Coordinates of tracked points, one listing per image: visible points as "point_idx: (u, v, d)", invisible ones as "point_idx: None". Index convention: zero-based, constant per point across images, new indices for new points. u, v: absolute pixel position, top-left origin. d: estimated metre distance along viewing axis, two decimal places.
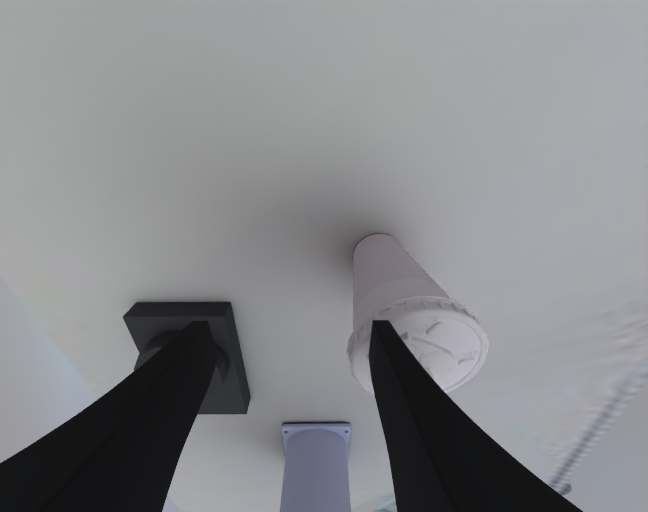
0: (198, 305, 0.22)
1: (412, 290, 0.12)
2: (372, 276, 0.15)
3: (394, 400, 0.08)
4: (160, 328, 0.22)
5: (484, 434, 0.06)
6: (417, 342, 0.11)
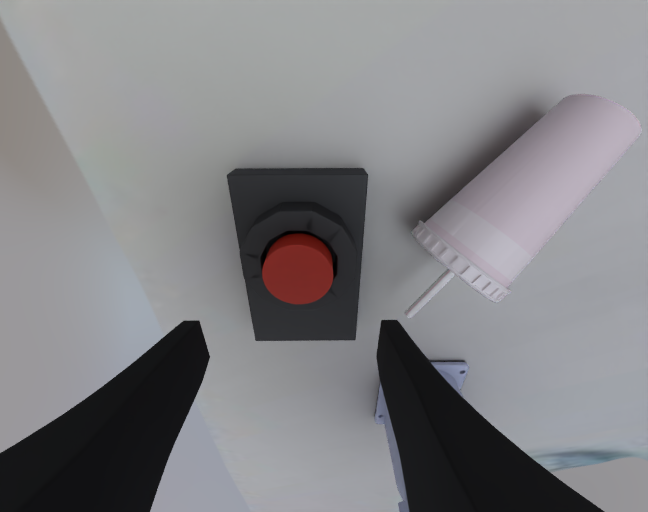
0: (323, 169, 0.16)
1: (473, 241, 0.13)
2: (484, 188, 0.14)
3: (406, 400, 0.08)
4: (275, 196, 0.16)
5: (500, 434, 0.06)
6: None
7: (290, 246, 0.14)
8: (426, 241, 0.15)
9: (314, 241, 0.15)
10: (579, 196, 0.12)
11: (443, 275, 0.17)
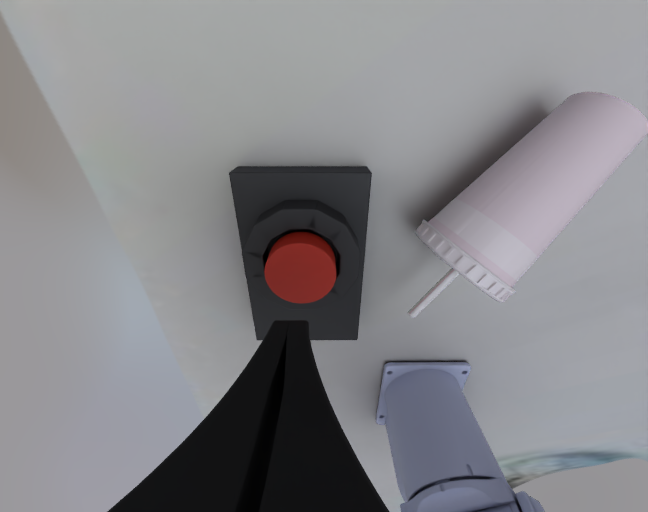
0: (326, 167, 0.16)
1: (479, 240, 0.13)
2: (490, 187, 0.13)
3: None
4: (278, 194, 0.16)
5: (339, 435, 0.06)
6: (449, 263, 0.15)
7: (292, 245, 0.14)
8: (430, 240, 0.14)
9: (317, 239, 0.15)
10: (586, 195, 0.12)
11: (447, 274, 0.17)
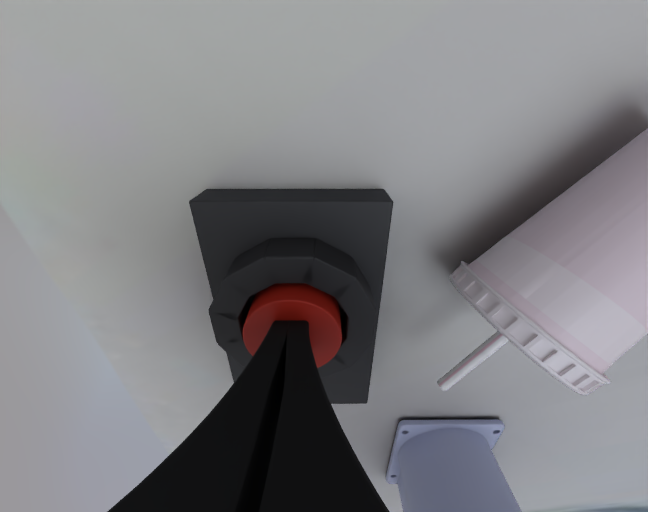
0: (327, 191, 0.12)
1: (562, 311, 0.09)
2: (575, 228, 0.09)
3: None
4: (260, 231, 0.11)
5: (339, 435, 0.06)
6: None
7: (280, 302, 0.10)
8: (481, 302, 0.10)
9: (316, 289, 0.11)
10: None
11: (494, 338, 0.12)
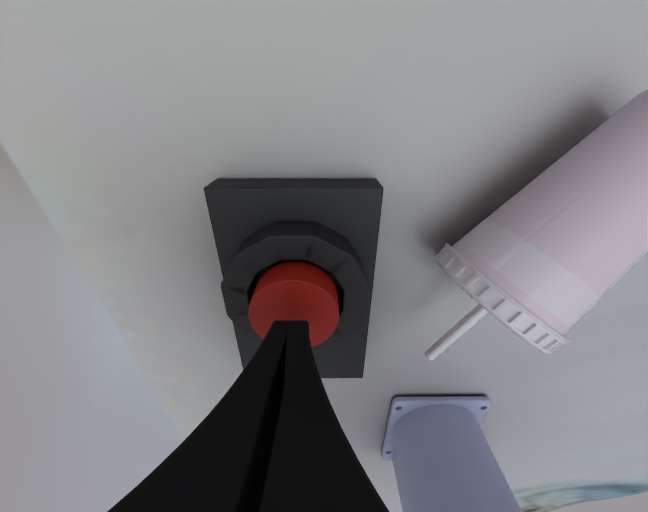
0: (326, 180, 0.13)
1: (526, 279, 0.10)
2: (538, 209, 0.10)
3: None
4: (266, 214, 0.12)
5: (338, 435, 0.06)
6: None
7: (283, 282, 0.11)
8: (459, 275, 0.11)
9: (315, 272, 0.12)
10: None
11: (474, 311, 0.14)
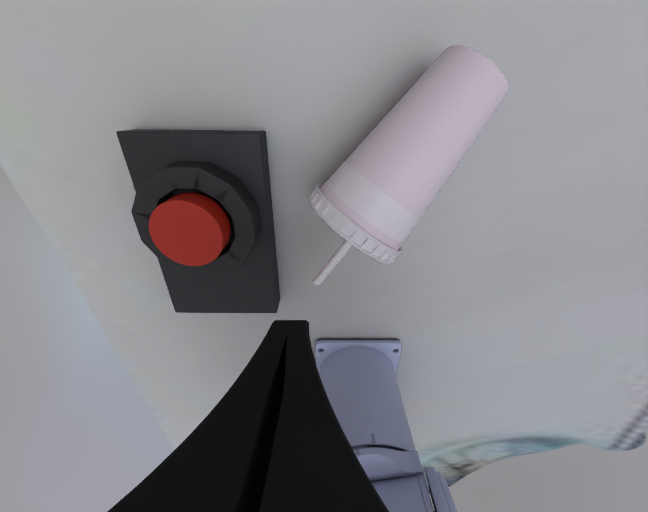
0: (221, 130, 0.16)
1: (351, 196, 0.13)
2: (365, 145, 0.13)
3: None
4: (170, 156, 0.15)
5: (338, 435, 0.06)
6: None
7: (171, 202, 0.14)
8: (314, 200, 0.14)
9: (204, 199, 0.15)
10: (450, 149, 0.12)
11: (345, 240, 0.17)
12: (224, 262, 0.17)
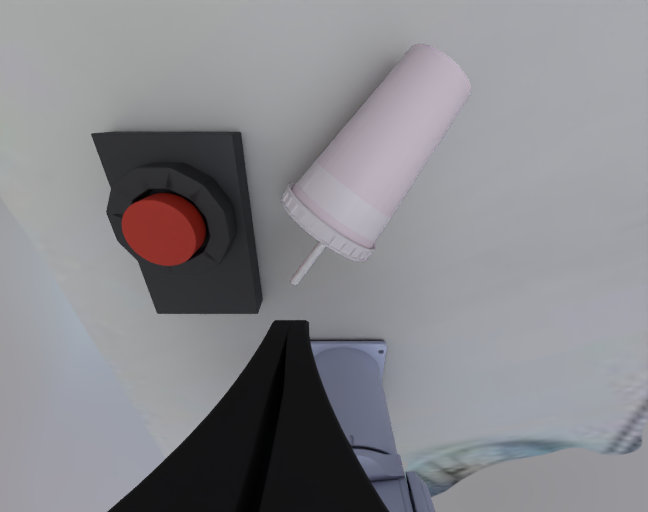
0: (196, 132, 0.16)
1: (318, 194, 0.13)
2: (333, 143, 0.14)
3: None
4: (144, 157, 0.16)
5: (338, 435, 0.06)
6: None
7: (142, 202, 0.14)
8: (284, 199, 0.14)
9: (177, 199, 0.15)
10: (415, 146, 0.12)
11: None
12: (200, 262, 0.17)
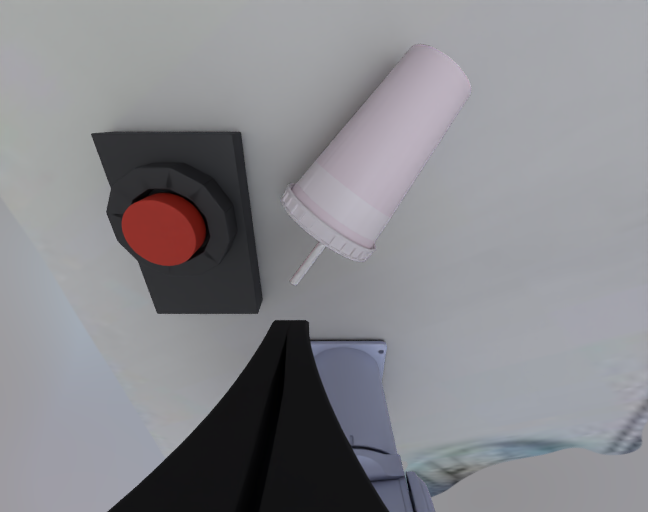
0: (196, 132, 0.16)
1: (318, 194, 0.13)
2: (333, 143, 0.14)
3: None
4: (144, 157, 0.16)
5: (338, 435, 0.06)
6: None
7: (142, 202, 0.14)
8: (284, 199, 0.14)
9: (177, 199, 0.15)
10: (415, 146, 0.12)
11: None
12: (200, 262, 0.17)
